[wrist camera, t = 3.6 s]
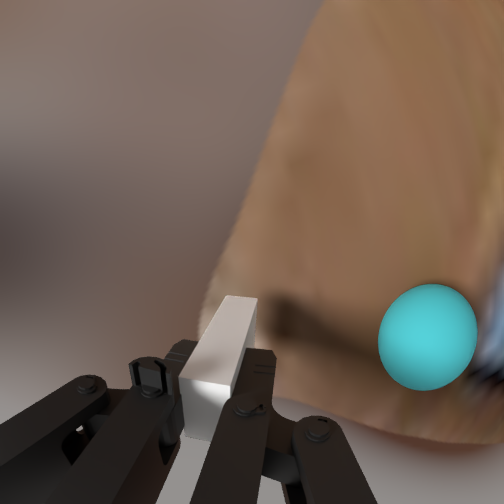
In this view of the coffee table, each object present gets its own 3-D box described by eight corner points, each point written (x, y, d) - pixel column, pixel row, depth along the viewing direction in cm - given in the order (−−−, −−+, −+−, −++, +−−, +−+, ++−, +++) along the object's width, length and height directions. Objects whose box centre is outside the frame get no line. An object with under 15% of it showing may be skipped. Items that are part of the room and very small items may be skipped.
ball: (458, 273, 14) (510, 309, 9) (435, 354, 16) (470, 406, 10) (377, 267, 15) (414, 307, 10) (359, 354, 16) (378, 416, 11)
